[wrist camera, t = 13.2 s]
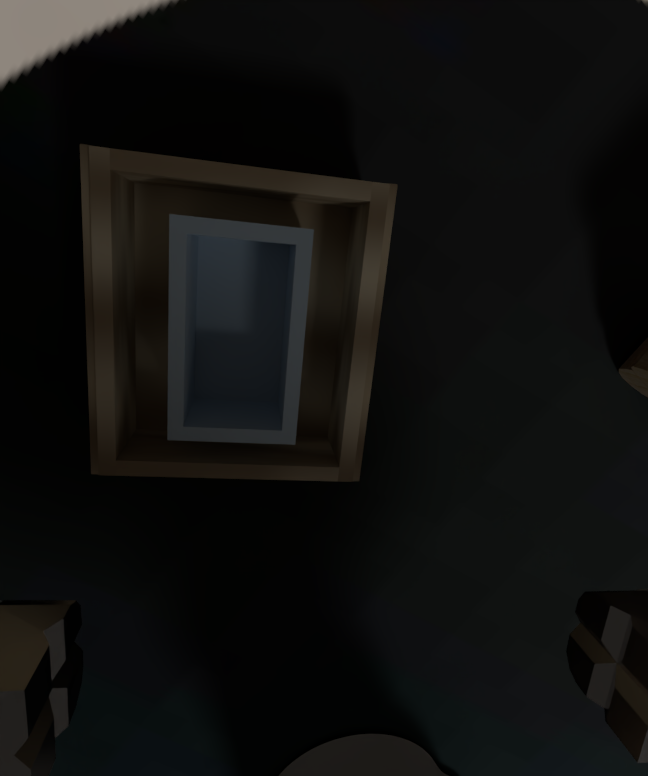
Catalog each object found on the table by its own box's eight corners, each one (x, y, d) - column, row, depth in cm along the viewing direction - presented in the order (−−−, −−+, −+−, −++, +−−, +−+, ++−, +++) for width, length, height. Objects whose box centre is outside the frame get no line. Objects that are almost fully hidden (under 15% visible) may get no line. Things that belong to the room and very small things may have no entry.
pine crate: (343, 445, 30) (360, 482, 25) (117, 436, 28) (89, 475, 23) (372, 195, 26) (398, 184, 21) (112, 163, 24) (78, 142, 19)
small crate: (288, 411, 28) (295, 444, 23) (182, 406, 27) (167, 440, 22) (302, 232, 25) (314, 229, 21) (186, 220, 24) (169, 213, 20)
